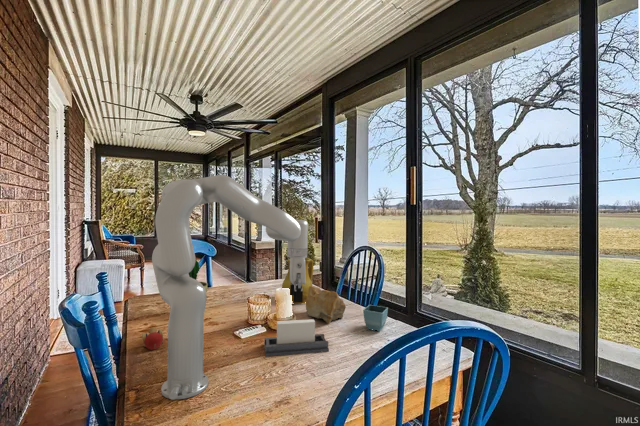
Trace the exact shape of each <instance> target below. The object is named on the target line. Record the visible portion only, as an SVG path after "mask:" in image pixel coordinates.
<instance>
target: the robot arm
mask: <svg viewBox="0 0 640 426" xmlns="http://www.w3.org/2000/svg"><path fill="white" fill-rule="evenodd" d="M210 203H219V204H220V205H222V206H223V207H225V208H227V209H228V210H229V211H231V212H232V213H234V214H236V215H237V216H239V217H240V218H241V219H243V220H245V221H247V222H249V223H253V224H257V225H260V226H263V227H265V232H266V235H267V236H268V237H269V238H271V239H272V240H277V241H284V242H287V243H286V245H287V248H286V249H287V250H286V252H287V253H286V257H288V258H289V259H290V281H291V285H290V295H294V298H293V302H294V303H297V302H302V300H303V289H302V283H303V285H305V284H306V268H305V258H308V242H309V241H308V239H309V237H308V236H309V231H308V230H309V223H308V221H307V220H305V219H296V218H294V217H293V216H291V215H290V214H289V213H287V212H286V211H285V210H283V209H281V208H280V207H278V206H275V205H273V204H271V203H269V202H267V201H265V200H263V199H261V198H260V197H257V196H256V195H255V194H253V193H252V192H251V191H249V190H248V189H247V188H245V187H244V185H243V186H242V184H240V183H239V182H238V181H236V180H235V179H233V178H232V177H231V176H228V175H226V174H218V175H210V176H206V177H200V178H193V179H188V178H187V179H186V178H185V179H180V180H175V181H171V182H168V183H167V184H166V185H165V186H164V187H163V189H162V190H161V201H160V202H159V204H158V207H157V210H156V213H155V217H154V218H155V219H154V221H155V223H154V224H155V231H156V237H157V243H158V244H157V245H156V246H155V248H154V249H153V251H152V254H151V255H152V256H151V262H152V267H153V271H154V276H155V280H156V285H157V291H158V293H159V296H160V297H161V299H162V301H164V302H165V304H167V305H168V306H170V310H169V316H168V317H169V318H168V323H167V375H166V376H167V380H166V381H164V382H163V383H162V385H161V387H160V391H161V394H162V396H163V397H164V398H167V399H170V400H172V401H174V400H183V399H184V400H185V399H188V398H192V397H195V396H197V395H199V394H201V393H202V392H203V391H205V390H206V388H208V386H209V377H208V376H207V374H204V328H205V327H204V325H205V324H204V323H205V322H204V321H205V311H206V305H207V297H208V296H207V291H206V290H205V288H204V286H203V285H202V284H201V283H200V282H201V281H198V279H197V280H195V279H193V278H191V277H189V272H191V271H192V269H193V268H194V266H195V262H196V260H197V259H195V258H196V254H195V248H194V246H193V240H192V235H191V228H190V219H191V214H192V213H193V211H194V210H195V208H196V207H198V206H200V205H205V204H210Z"/></svg>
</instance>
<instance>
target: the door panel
mask: <svg viewBox="0 0 640 426" xmlns="http://www.w3.org/2000/svg"><path fill="white" fill-rule="evenodd" d="M315 334H316V321H315V319H314V318H312V319H297V320H296V319H294V320H292V319H291V320H279V321H278V320H277V321H276V337H277V344H287V343H301V342H315Z"/></svg>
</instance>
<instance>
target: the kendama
mask: <svg viewBox="0 0 640 426" xmlns="http://www.w3.org/2000/svg"><path fill="white" fill-rule="evenodd" d="M141 337H142V344H143V347H145V348H146V349H148V350H150V351H151V350H152V351H153V350H157V349H158V348H160V347H161V346H162V344H163V341H164V340H165V338H164V332H163V329H162V328H161V329H158V330H157V328H156V327H154V326H153V327H150V328H149V329H148V333H147V332H144V333H142V335H141Z"/></svg>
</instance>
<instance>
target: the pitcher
mask: <svg viewBox="0 0 640 426" xmlns="http://www.w3.org/2000/svg"><path fill="white" fill-rule="evenodd" d="M287 262H288V270H287V274H286V275H285V278H284V279H283V281H282V284H281V289H282V288H289V289H290V285H291V281H290V258H289V259H287ZM305 268H306V284H305V285H303V283H302V289H303V300H302V302H297V303H294V302H293V303H294V304H300V305H302V304H301V303H305V302H306V299H307V297H308V291H309V287H310V286H313V275H314V260H313V259H311V258H309V257H306V258H305ZM293 298H294V295H292V301H293Z"/></svg>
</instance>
